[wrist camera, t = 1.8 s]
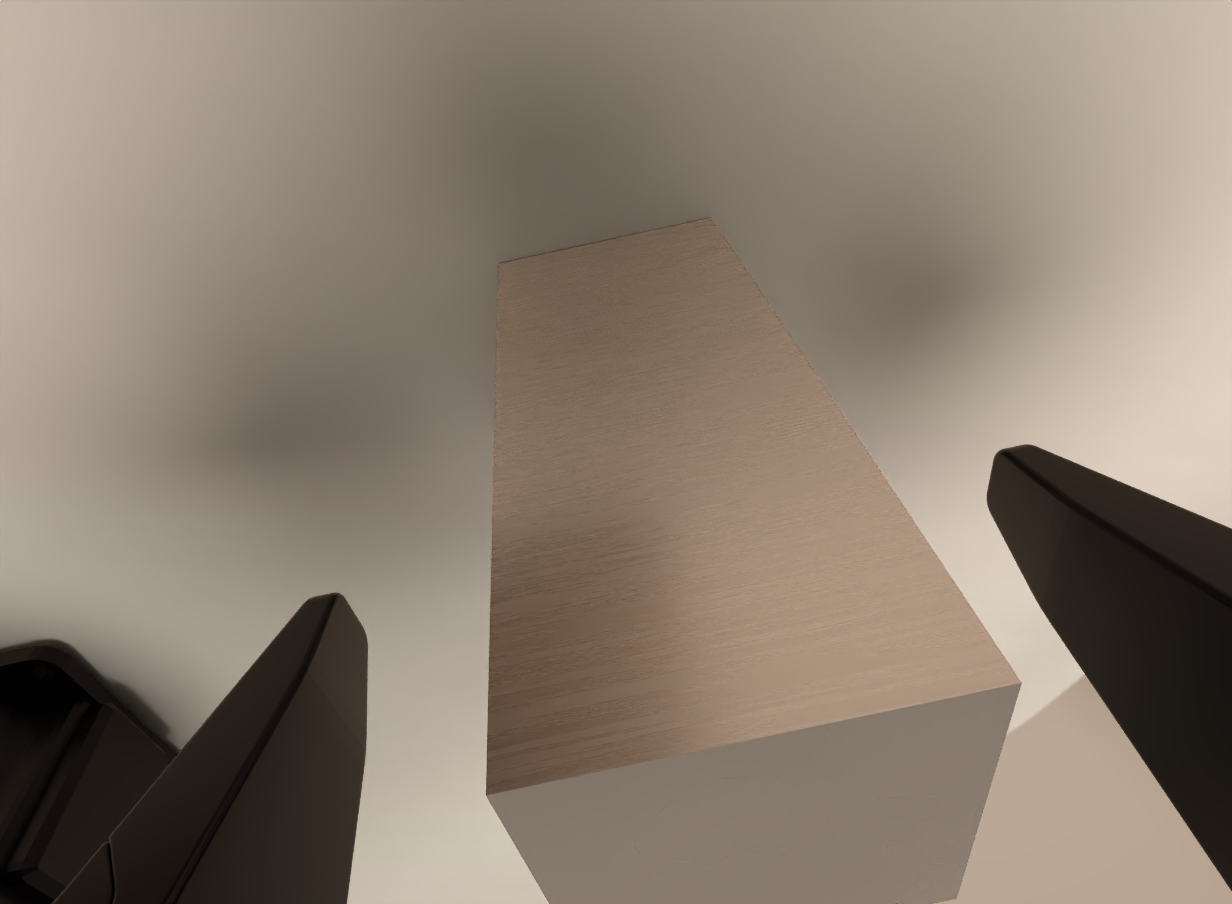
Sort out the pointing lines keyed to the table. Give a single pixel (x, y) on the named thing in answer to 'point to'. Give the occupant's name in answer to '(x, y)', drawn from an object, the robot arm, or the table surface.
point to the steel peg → (714, 606)
